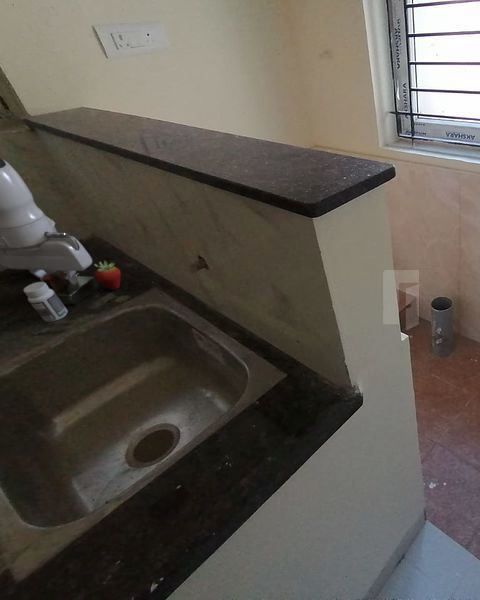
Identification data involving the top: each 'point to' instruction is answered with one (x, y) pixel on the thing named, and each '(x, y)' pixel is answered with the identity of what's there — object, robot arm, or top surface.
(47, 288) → the pill bottle
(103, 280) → the fruit
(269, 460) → the top surface
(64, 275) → the dark red block
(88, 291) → the dial panel
